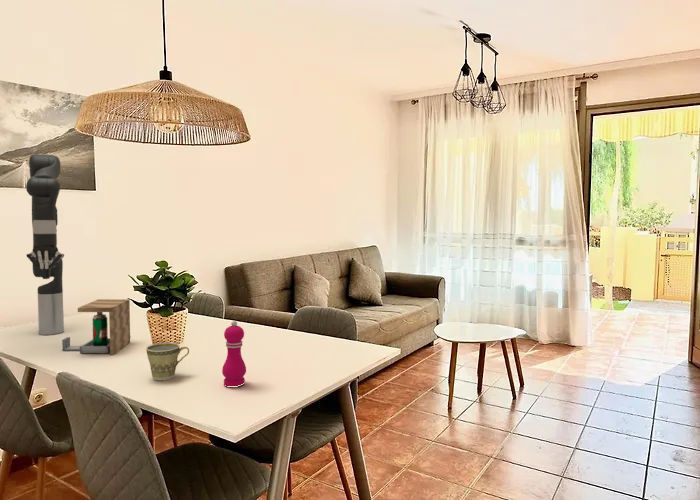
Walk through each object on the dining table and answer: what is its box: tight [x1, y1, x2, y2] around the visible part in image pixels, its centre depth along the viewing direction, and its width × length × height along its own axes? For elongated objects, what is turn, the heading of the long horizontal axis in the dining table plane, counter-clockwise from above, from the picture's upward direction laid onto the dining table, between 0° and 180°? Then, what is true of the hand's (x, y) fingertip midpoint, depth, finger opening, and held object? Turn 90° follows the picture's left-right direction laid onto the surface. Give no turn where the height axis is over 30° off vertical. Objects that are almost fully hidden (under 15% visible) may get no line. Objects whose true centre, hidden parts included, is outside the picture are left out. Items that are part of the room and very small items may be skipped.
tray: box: [61, 336, 110, 354], centre depth 192 cm, size 12×18×4 cm, turn 95°
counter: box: [77, 298, 131, 356], centre depth 193 cm, size 18×12×18 cm, turn 5°
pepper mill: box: [221, 320, 247, 386], centre depth 155 cm, size 7×7×20 cm
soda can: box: [92, 314, 109, 346], centre depth 192 cm, size 5×5×12 cm
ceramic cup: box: [145, 342, 190, 382], centre depth 162 cm, size 13×10×10 cm
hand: (46, 278), depth 189 cm, fingers closed
